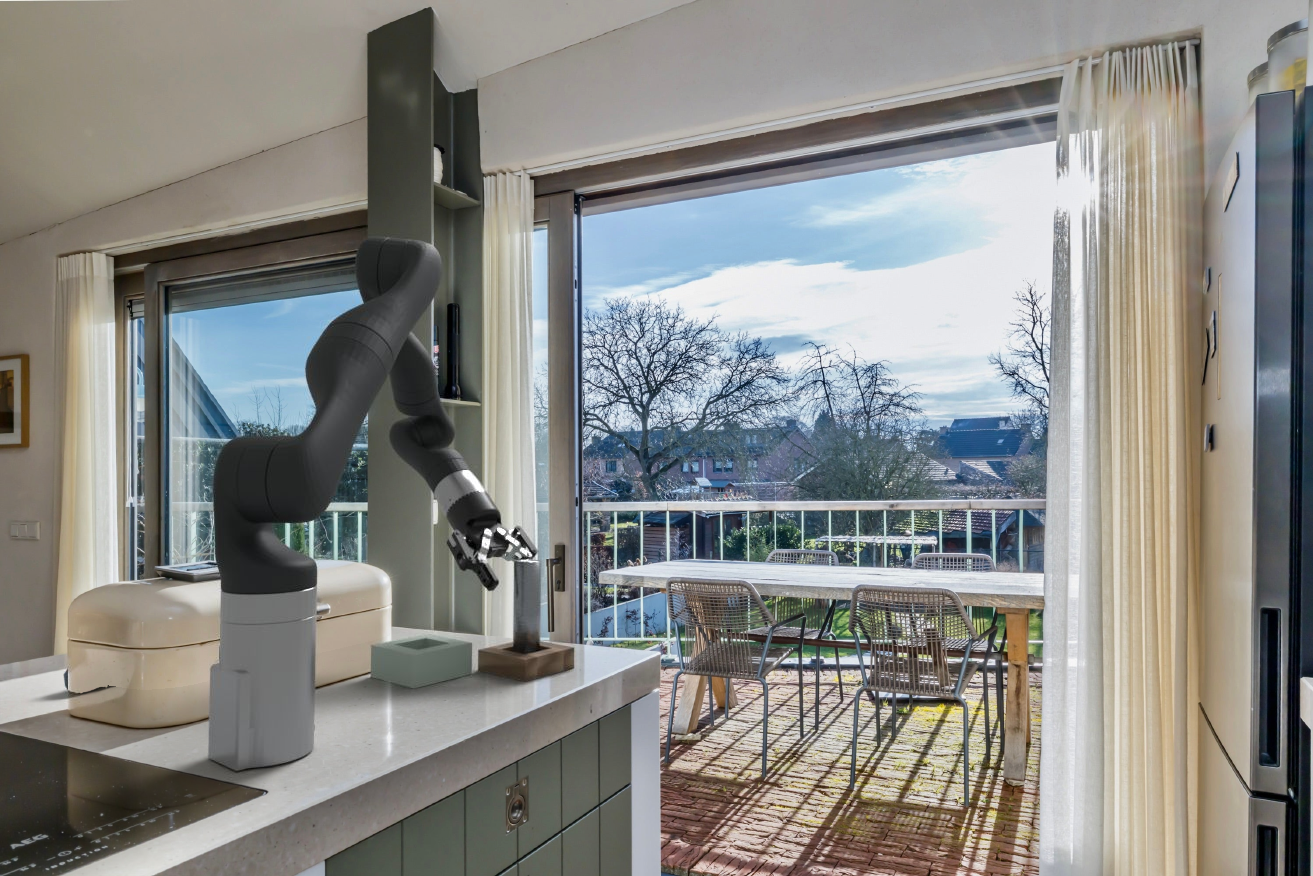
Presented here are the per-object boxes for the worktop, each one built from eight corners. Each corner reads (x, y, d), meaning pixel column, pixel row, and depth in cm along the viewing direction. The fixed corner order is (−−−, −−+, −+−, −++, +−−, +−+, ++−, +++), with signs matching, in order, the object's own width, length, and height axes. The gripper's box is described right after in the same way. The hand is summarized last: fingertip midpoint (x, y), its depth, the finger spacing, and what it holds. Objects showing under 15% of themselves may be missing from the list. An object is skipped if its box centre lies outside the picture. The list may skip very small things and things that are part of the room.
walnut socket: (525, 681, 116) (525, 659, 116) (477, 670, 122) (478, 649, 122) (574, 667, 124) (574, 647, 124) (527, 657, 130) (527, 638, 130)
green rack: (413, 688, 112) (414, 655, 112) (370, 676, 118) (371, 644, 118) (471, 674, 120) (472, 642, 120) (428, 663, 126) (428, 633, 126)
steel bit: (525, 673, 120) (527, 563, 121) (507, 669, 123) (508, 561, 123) (545, 668, 123) (546, 560, 124) (526, 664, 126) (527, 558, 126)
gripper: (441, 490, 125) (492, 572, 118) (511, 488, 136) (561, 563, 129) (419, 523, 128) (467, 606, 121) (489, 519, 139) (537, 594, 132)
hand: (516, 584), depth 125 cm, fingers open, 8 cm apart
